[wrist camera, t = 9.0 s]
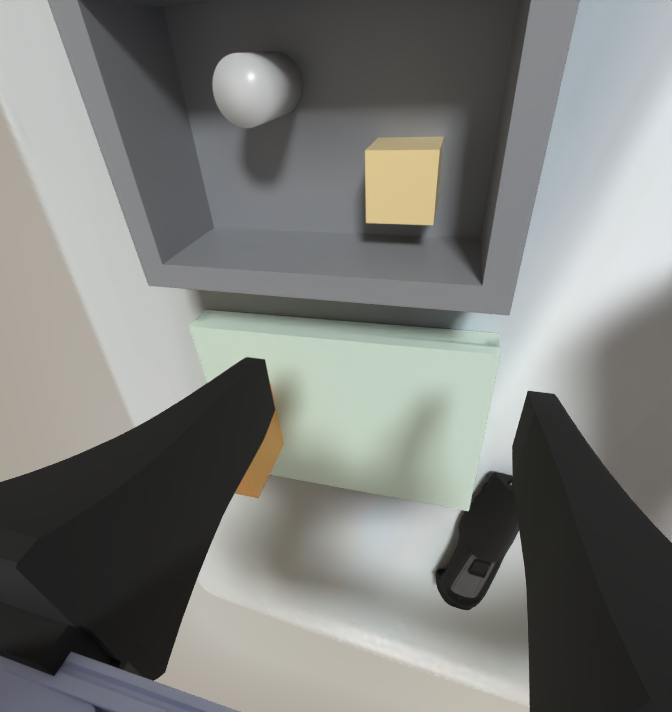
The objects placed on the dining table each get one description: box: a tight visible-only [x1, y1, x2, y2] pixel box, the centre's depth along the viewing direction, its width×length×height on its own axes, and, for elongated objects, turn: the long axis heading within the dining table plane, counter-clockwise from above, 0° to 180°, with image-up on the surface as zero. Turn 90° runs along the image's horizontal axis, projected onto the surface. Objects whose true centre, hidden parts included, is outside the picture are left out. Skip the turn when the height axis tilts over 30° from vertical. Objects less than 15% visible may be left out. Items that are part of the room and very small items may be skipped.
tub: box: [48, 0, 580, 315], centre depth 14 cm, size 14×10×5 cm
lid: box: [189, 310, 500, 511], centre depth 23 cm, size 16×12×6 cm
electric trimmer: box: [435, 473, 519, 610], centre depth 28 cm, size 4×16×3 cm, turn 176°
